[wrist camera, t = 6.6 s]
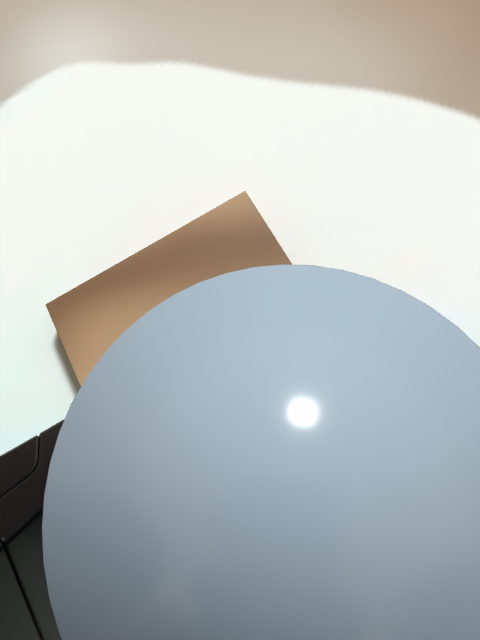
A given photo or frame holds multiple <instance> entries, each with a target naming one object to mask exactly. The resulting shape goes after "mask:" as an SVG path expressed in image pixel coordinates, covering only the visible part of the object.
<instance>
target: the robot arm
mask: <svg viewBox="0 0 480 640" xmlns="http://www.w3.org/2000/svg"><path fill="white" fill-rule="evenodd" d="M64 420H65V419H64ZM64 420H62V421H60V422H59V423H57V424H55V425H54V426H52V427H50V428H48V429H47V430H45V431H43V432H42V433H40V435H39V436H34V437H33V438H31V439H29V440H28V441H26V442H24V443H22V444H21V445H19V446H17V447H15V448H14V449H12V450H10V451H8V452H7V453H5V454H3V455H1V456H0V640H62V639H61V636H60V634H59V631H58V627H57V624H56V620H55V616H54V613H53V609H52V606H51V602H50V599H49V593H48V587H47V581H46V575H45V568H44V561H43V539H42V521H43V506H44V493H45V488H46V483H47V477H48V472H49V466H50V461H51V458H52V455H53V451H54V448H55V445H56V441H57V438H58V435H59V432H60V429H61V427H62V425H63V422H64Z"/></svg>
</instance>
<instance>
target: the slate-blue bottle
mask: <svg viewBox="0 0 480 640" xmlns="http://www.w3.org/2000/svg"><path fill="white" fill-rule="evenodd" d="M42 539H43V561H44V568H45V575H46V581H47V587H48V593H49V599H50V602H51V606H52V609H53V613H54V616H55V620H56V624H57V627H58V631H59V634H60V636H61V639H62V640H480V347H479V346H478V345H477V344H476V343H474V342H473V341H472V340H471V339H470V338H469V337H468V336H467V335H466V334H465V333H464V332H463V331H462V330H461V329H459V328H458V327H457V326H456V325H455V324H453V323H452V322H451V321H449V320H448V319H446V318H445V317H444V316H442V315H441V314H440V313H438V312H437V311H436V310H434V309H433V308H431V307H430V306H428V305H427V304H425V303H423V302H421V301H419V300H418V299H416V298H414V297H412V296H411V295H409V294H407V293H405V292H403V291H402V290H399V289H397V288H395V287H392V286H390V285H387V284H385V283H382V282H380V281H378V280H375V279H373V278H369V277H366V276H362V275H359V274H355V273H352V272H348V271H344V270H339V269H333V268H326V267H320V266H313V265H272V266H262V267H252V268H248V269H243V270H239V271H234V272H229V273H225V274H222V275H219V276H216V277H214V278H211V279H208V280H205V281H202V282H199V283H197V284H195V285H193V286H191V287H189V288H187V289H185V290H183V291H181V292H179V293H177V294H175V295H173V296H171V297H169V298H168V299H166V300H165V301H163V302H162V303H160V304H159V305H157V306H156V307H154V308H152V309H151V310H149V311H148V312H147V313H146V314H144V315H143V316H142V317H141V318H140V319H138V320H137V321H136V322H135V323H134V324H132V325H131V326H130V327H129V328H128V329H126V330H125V331H124V332H123V333H122V335H121V336H120V337H119V338H118V339H117V340H116V341H115V342H114V343H113V344H112V345H111V346H110V347H109V348H108V349H107V350H106V352H105V353H104V354H103V356H102V357H101V358H100V360H99V361H98V362H97V364H96V365H95V366H94V368H93V369H92V370H91V372H90V373H89V374H88V376H87V377H86V379H85V381H84V383H83V384H82V386H81V388H80V390H79V391H78V393H77V395H76V396H75V398H74V400H73V402H72V404H71V406H70V408H69V411H68V413H67V415H66V418H65V420H64V422H63V425H62V427H61V429H60V432H59V435H58V438H57V441H56V445H55V448H54V451H53V455H52V458H51V461H50V466H49V472H48V477H47V483H46V488H45V493H44V506H43V521H42Z"/></svg>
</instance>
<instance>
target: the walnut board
mask: <svg viewBox="0 0 480 640" xmlns="http://www.w3.org/2000/svg"><path fill="white" fill-rule="evenodd" d="M272 265H292V263H291V262H290V260H289V259H288V257H287V256H286V254H285V252H284V251H283V249H282V248H281V246H280V245H279V243H278V242H277V240H276V238H275V237H274V235H273V234H272V232H271V231H270V229H269V227H268V226H267V224H266V223H265V221H264V220H263V218H262V216H261V215H260V213H259V212H258V210H257V209H256V207H255V206H254V204H253V202H252V201H251V199H250V198H249V196H248V195H247V193H246V191H244V192H242V193H241V194H239V195H237V196H235V197H234V198H232V199H230V200H228V201H227V202H225V203H223V204H221V205H220V206H218V207H216V208H214V209H213V210H211V211H209V212H207V213H206V214H204V215H202V216H200V217H199V218H197V219H195V220H193V221H192V222H190V223H188V224H186V225H184V226H183V227H181V228H179V229H177V230H176V231H174V232H172V233H170V234H169V235H167V236H165V237H163V238H162V239H160V240H158V241H156V242H155V243H153V244H151V245H149V246H148V247H146V248H144V249H142V250H141V251H139V252H137V253H135V254H134V255H132V256H130V257H128V258H127V259H125V260H123V261H121V262H119V263H118V264H116V265H114V266H112V267H111V268H109V269H107V270H105V271H104V272H102V273H100V274H98V275H97V276H95V277H93V278H91V279H90V280H88V281H86V282H84V283H83V284H81V285H79V286H77V287H76V288H74V289H72V290H70V291H69V292H67V293H65V294H63V295H61V296H60V297H58V298H56V299H54V300H53V301H51V302H49V303H47V304H46V307H47V309H48V311H49V314H50V316H51V318H52V321H53V323H54V325H55V328H56V330H57V332H58V335H59V337H60V339H61V342H62V344H63V346H64V349H65V351H66V353H67V356H68V358H69V360H70V363H71V365H72V367H73V370H74V372H75V374H76V376H77V379H78V381H79V383H80V386H82V384H83V383H84V381H85V379H86V377H87V376H88V374H89V373H90V372H91V370H92V369H93V368H94V366H95V365H96V364H97V362H98V361H99V360H100V358H101V357H102V356H103V354H104V353H105V352H106V350H107V349H108V348H109V347H110V346H111V345H112V344H113V343H114V342H115V341H116V340H117V339H118V338H119V337H120V336H121V335H122V333H123V332H124V331H125V330H126V329H128V328H129V327H130V326H131V325H132V324H134V323H135V322H136V321H137V320H138V319H140V318H141V317H142V316H143V315H144V314H146V313H147V312H148V311H149V310H151V309H152V308H154V307H156V306H157V305H159V304H160V303H162V302H163V301H165V300H166V299H168V298H169V297H171V296H173V295H175V294H177V293H179V292H181V291H183V290H185V289H187V288H189V287H191V286H193V285H195V284H197V283H199V282H202V281H205V280H208V279H211V278H214V277H216V276H219V275H222V274H225V273H229V272H234V271H239V270H243V269H248V268H252V267H262V266H272Z"/></svg>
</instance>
